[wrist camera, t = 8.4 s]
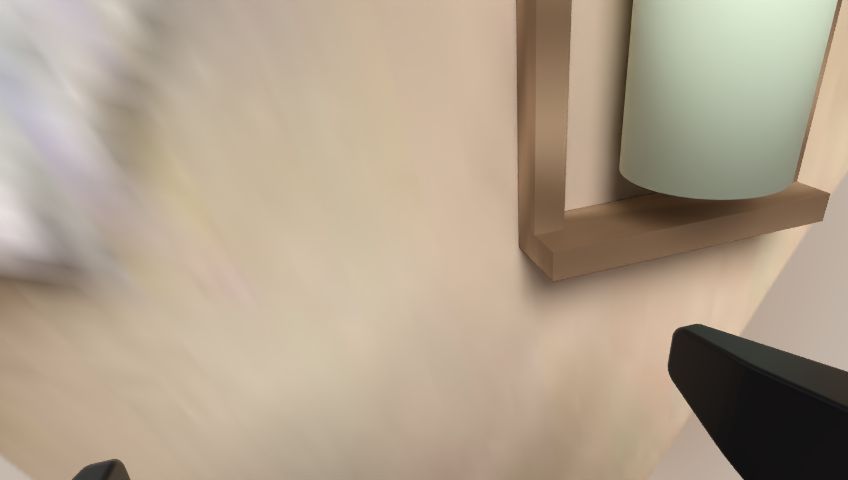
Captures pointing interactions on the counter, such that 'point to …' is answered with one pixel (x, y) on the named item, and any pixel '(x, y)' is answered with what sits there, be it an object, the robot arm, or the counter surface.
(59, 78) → the counter surface
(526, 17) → the holder
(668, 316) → the counter surface
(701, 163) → the roll
